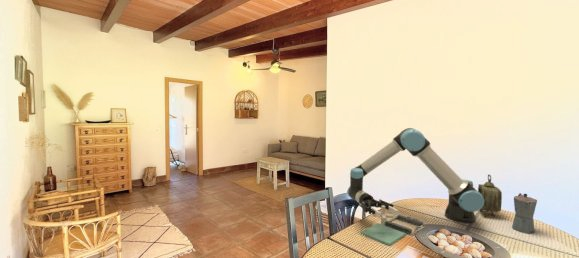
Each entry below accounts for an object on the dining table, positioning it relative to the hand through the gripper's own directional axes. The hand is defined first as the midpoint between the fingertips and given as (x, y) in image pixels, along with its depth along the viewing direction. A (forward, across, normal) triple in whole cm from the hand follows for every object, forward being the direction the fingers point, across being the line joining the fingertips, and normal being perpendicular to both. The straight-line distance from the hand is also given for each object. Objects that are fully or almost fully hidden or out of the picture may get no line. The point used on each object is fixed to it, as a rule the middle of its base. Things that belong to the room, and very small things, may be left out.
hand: (388, 214), depth 129 cm
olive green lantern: (-9, -77, -13) cm, 79 cm away
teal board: (-4, 0, -13) cm, 14 cm away
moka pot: (+10, -75, -12) cm, 77 cm away
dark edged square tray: (-11, -19, -13) cm, 25 cm away
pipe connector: (-5, 0, -8) cm, 9 cm away
